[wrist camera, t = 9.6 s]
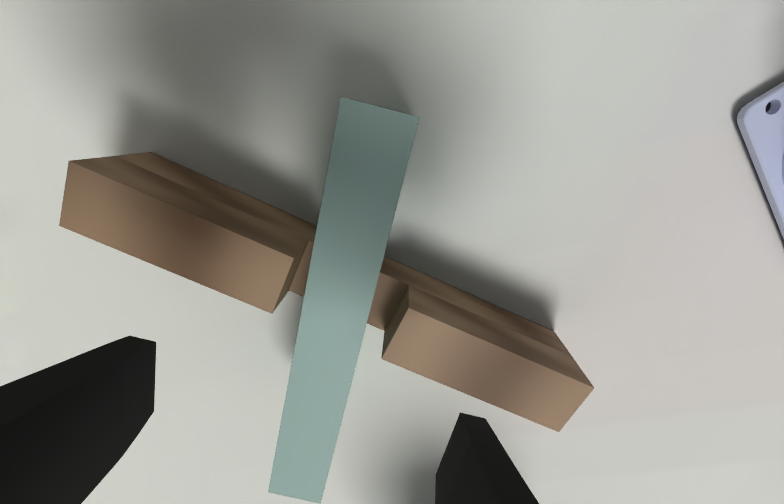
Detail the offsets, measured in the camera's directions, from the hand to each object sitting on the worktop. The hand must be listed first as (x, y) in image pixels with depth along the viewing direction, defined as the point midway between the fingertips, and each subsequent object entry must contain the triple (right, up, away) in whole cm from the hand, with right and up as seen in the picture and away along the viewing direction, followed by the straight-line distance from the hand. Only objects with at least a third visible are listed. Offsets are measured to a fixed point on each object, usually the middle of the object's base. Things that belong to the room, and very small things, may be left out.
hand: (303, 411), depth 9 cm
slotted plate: (0, +3, +8) cm, 9 cm away
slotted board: (0, +3, +8) cm, 9 cm away
